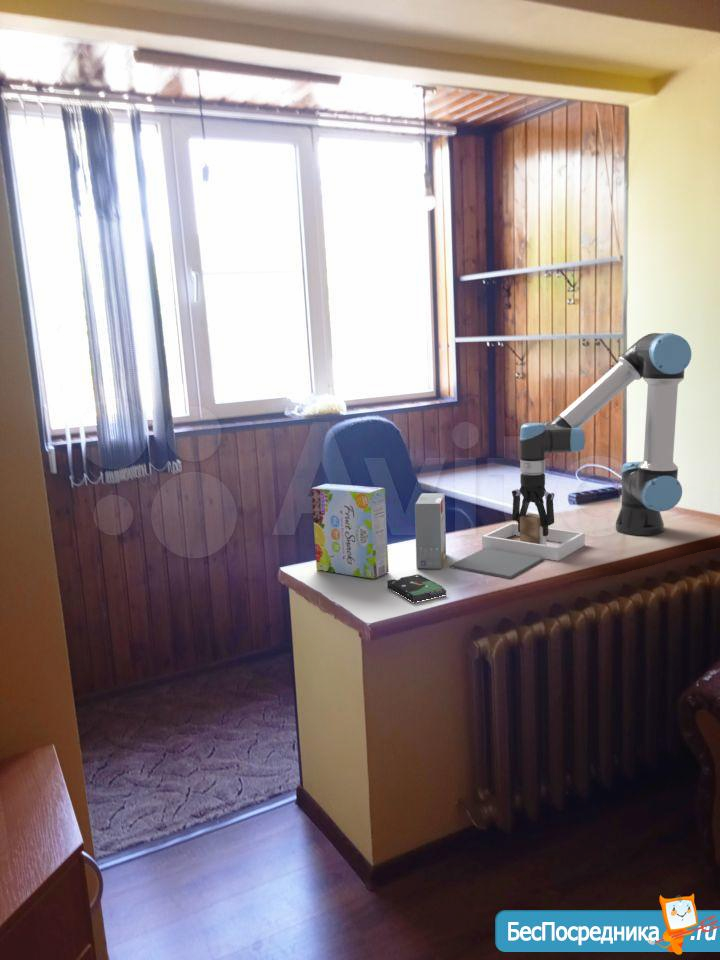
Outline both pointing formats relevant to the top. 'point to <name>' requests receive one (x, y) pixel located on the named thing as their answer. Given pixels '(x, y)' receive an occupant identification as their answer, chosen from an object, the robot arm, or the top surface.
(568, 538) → the bin
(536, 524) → the walnut block
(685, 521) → the top surface
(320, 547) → the snack box
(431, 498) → the hard drive box
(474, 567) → the mat
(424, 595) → the disk drive
